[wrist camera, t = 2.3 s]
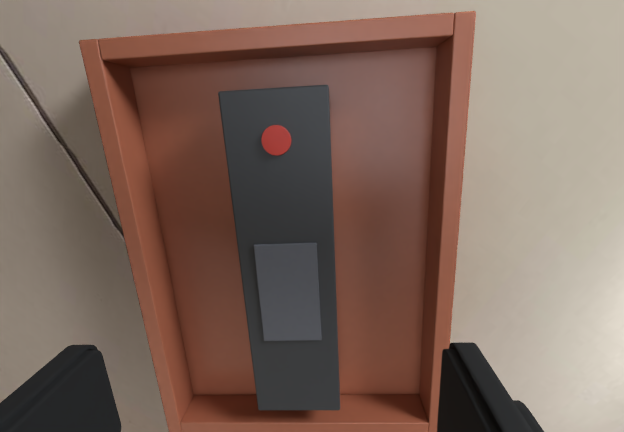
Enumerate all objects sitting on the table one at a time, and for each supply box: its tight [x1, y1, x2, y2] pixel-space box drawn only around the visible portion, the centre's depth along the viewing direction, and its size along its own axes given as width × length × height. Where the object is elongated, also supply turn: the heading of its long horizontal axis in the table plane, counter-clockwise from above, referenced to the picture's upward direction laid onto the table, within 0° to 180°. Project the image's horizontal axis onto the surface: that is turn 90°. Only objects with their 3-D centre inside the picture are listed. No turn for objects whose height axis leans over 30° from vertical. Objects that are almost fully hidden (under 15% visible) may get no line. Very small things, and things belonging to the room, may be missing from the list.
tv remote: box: [218, 85, 340, 410], centre depth 16 cm, size 4×16×3 cm, turn 3°
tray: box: [79, 11, 476, 432], centre depth 17 cm, size 16×21×3 cm
